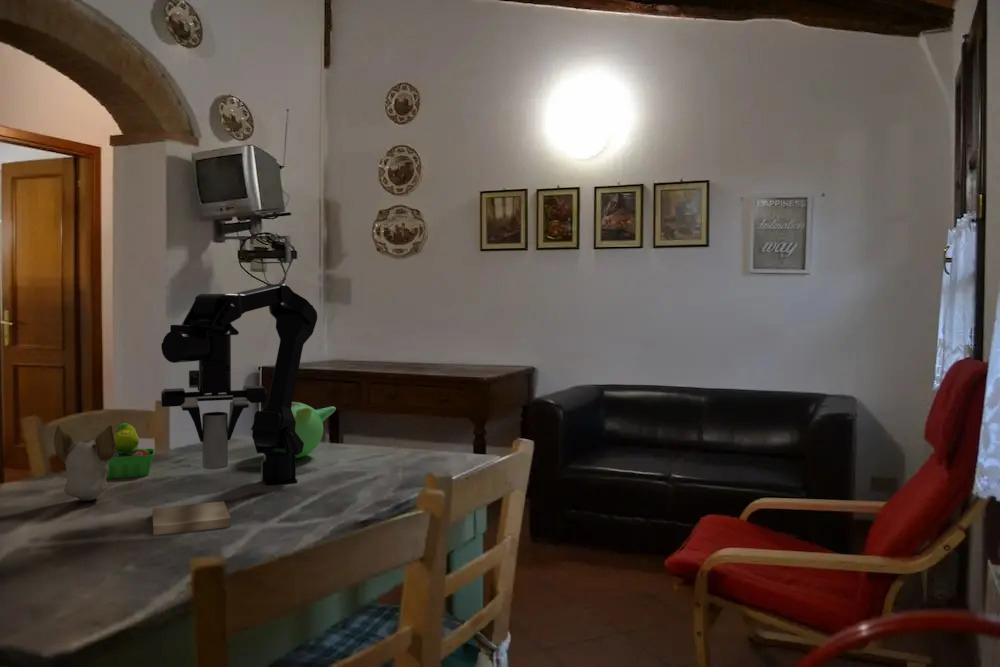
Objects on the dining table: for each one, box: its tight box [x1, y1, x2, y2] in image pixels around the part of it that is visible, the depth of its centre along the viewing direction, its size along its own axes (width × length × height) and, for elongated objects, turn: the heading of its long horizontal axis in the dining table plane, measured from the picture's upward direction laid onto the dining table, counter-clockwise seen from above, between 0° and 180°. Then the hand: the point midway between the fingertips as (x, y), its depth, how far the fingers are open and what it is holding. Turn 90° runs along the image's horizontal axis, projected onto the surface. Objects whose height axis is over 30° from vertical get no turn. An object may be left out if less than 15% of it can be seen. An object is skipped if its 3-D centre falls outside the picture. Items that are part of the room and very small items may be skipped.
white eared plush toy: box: [53, 424, 116, 502], centre depth 142 cm, size 11×9×15 cm
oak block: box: [152, 501, 232, 536], centre depth 130 cm, size 12×12×2 cm
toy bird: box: [291, 401, 337, 459], centre depth 184 cm, size 18×17×15 cm
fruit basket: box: [106, 422, 155, 479], centre depth 164 cm, size 11×9×11 cm
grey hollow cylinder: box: [201, 411, 229, 470], centre depth 143 cm, size 4×4×10 cm
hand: (215, 440), depth 143 cm, fingers closed on grey hollow cylinder, 4 cm apart
